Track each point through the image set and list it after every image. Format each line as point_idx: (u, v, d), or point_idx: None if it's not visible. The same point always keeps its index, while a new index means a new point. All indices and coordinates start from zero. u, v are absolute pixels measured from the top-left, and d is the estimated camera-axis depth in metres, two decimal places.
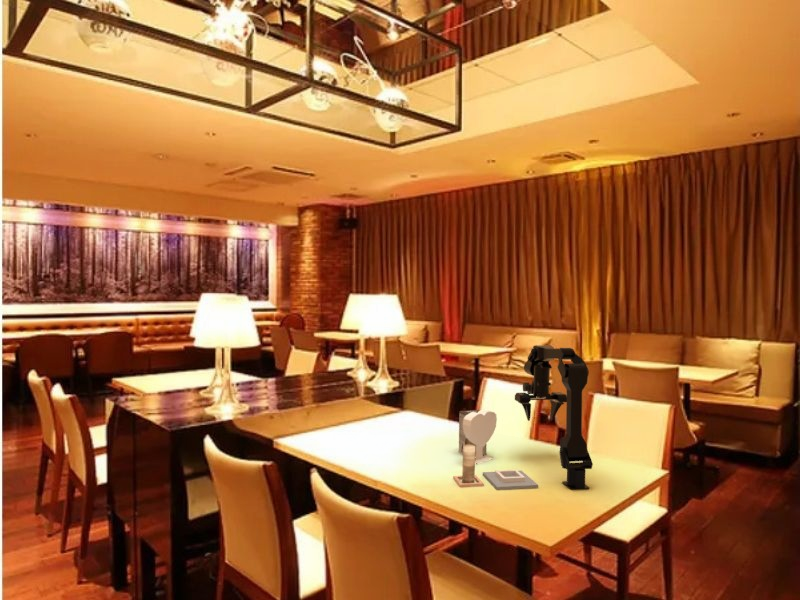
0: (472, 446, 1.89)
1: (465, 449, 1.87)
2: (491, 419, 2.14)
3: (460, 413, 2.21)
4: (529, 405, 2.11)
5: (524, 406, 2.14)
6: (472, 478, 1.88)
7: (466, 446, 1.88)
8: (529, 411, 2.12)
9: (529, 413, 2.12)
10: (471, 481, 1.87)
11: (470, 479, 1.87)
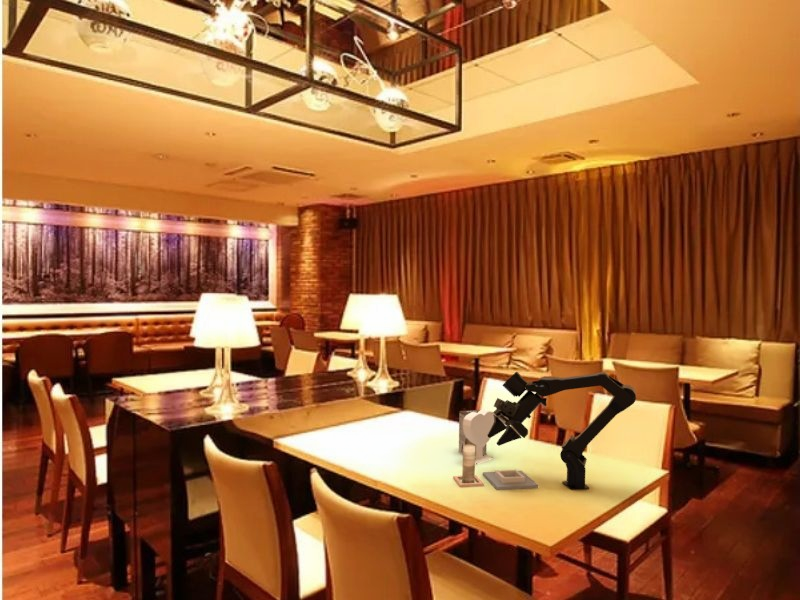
0: (472, 446, 1.89)
1: (465, 449, 1.87)
2: (492, 419, 2.14)
3: (460, 413, 2.21)
4: None
5: (508, 432, 1.85)
6: (472, 478, 1.88)
7: (466, 446, 1.88)
8: None
9: None
10: (471, 481, 1.87)
11: (470, 479, 1.87)
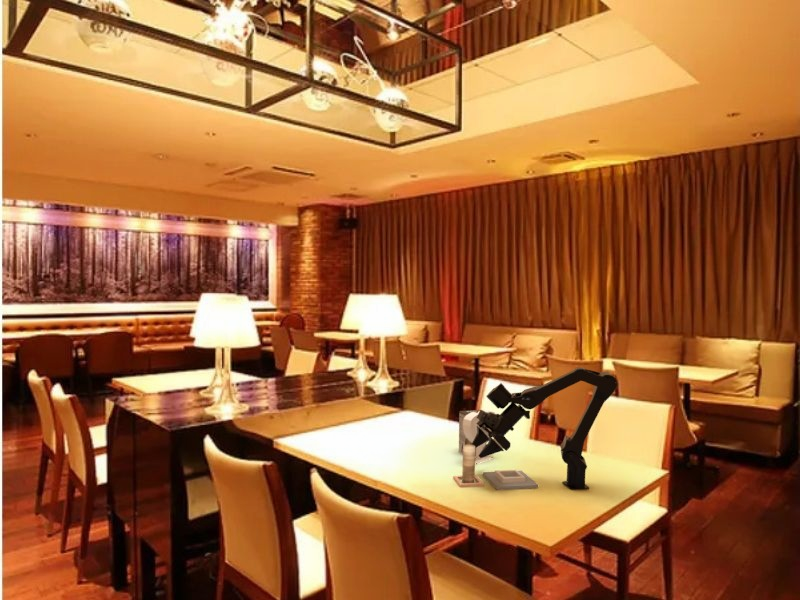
0: (472, 446, 1.89)
1: (465, 449, 1.87)
2: None
3: (460, 413, 2.21)
4: None
5: (490, 445, 1.84)
6: (472, 478, 1.88)
7: (466, 446, 1.88)
8: None
9: None
10: (471, 481, 1.87)
11: (470, 479, 1.87)
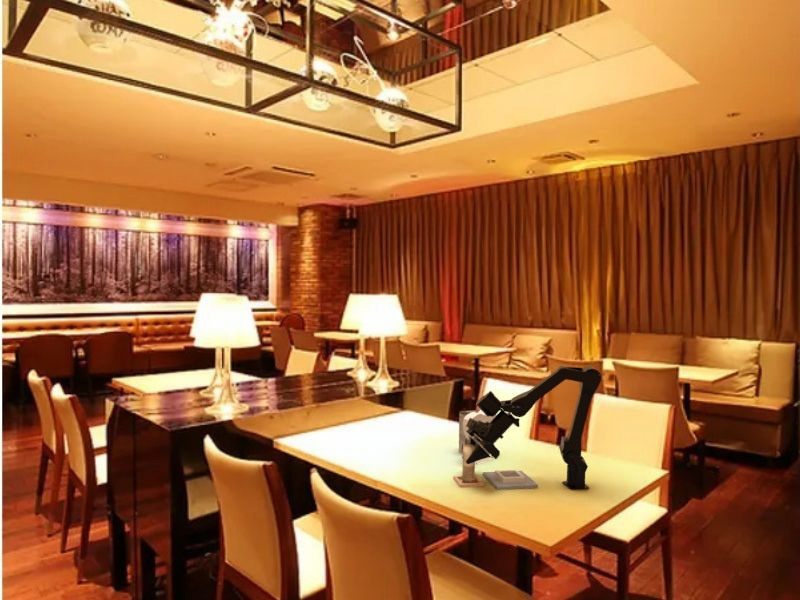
0: (472, 446, 1.89)
1: (465, 449, 1.87)
2: None
3: (460, 413, 2.21)
4: None
5: (477, 451, 1.86)
6: (472, 478, 1.88)
7: (466, 446, 1.88)
8: None
9: None
10: (471, 481, 1.87)
11: (470, 479, 1.87)
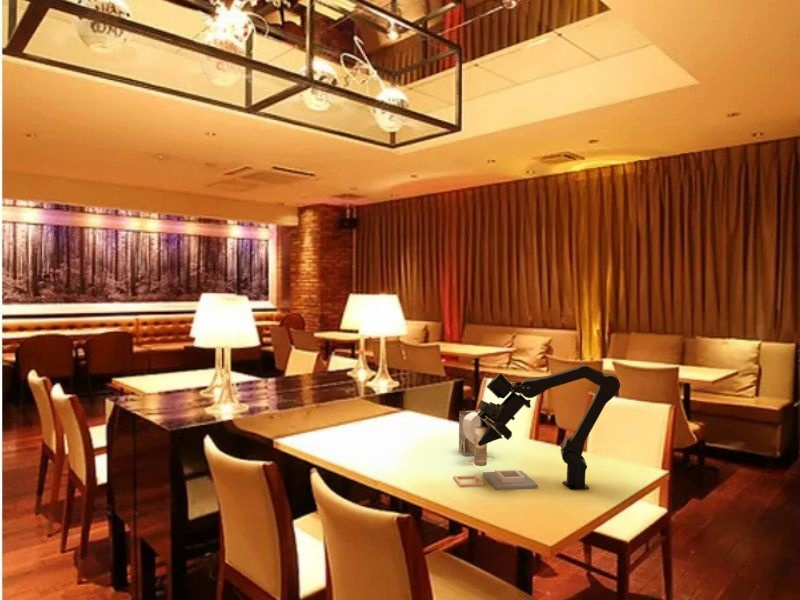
0: (484, 428, 1.89)
1: (477, 431, 1.87)
2: None
3: (460, 413, 2.21)
4: None
5: (489, 432, 1.86)
6: (484, 460, 1.88)
7: (478, 428, 1.88)
8: None
9: None
10: (483, 463, 1.87)
11: (482, 461, 1.87)
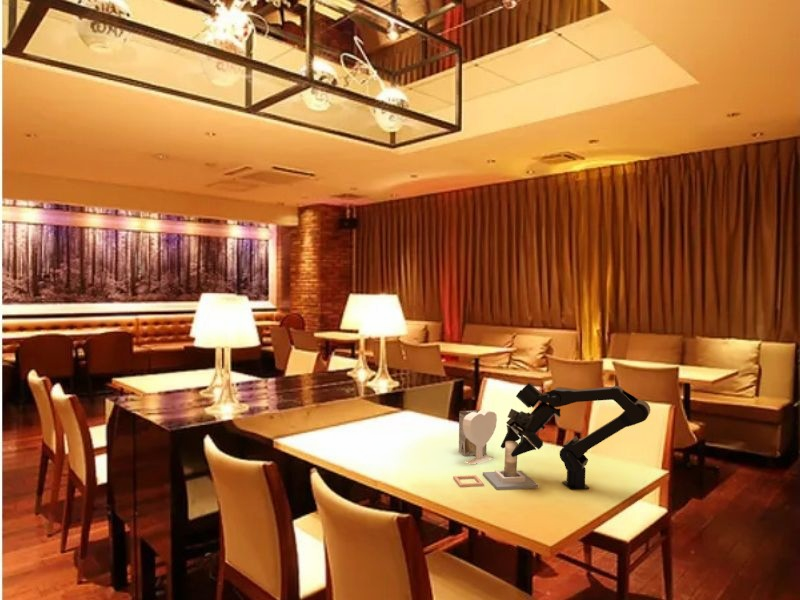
0: (514, 442, 1.90)
1: (508, 445, 1.89)
2: (492, 419, 2.14)
3: (460, 413, 2.21)
4: None
5: (522, 443, 1.85)
6: (514, 474, 1.89)
7: (509, 442, 1.90)
8: None
9: None
10: None
11: (512, 475, 1.89)
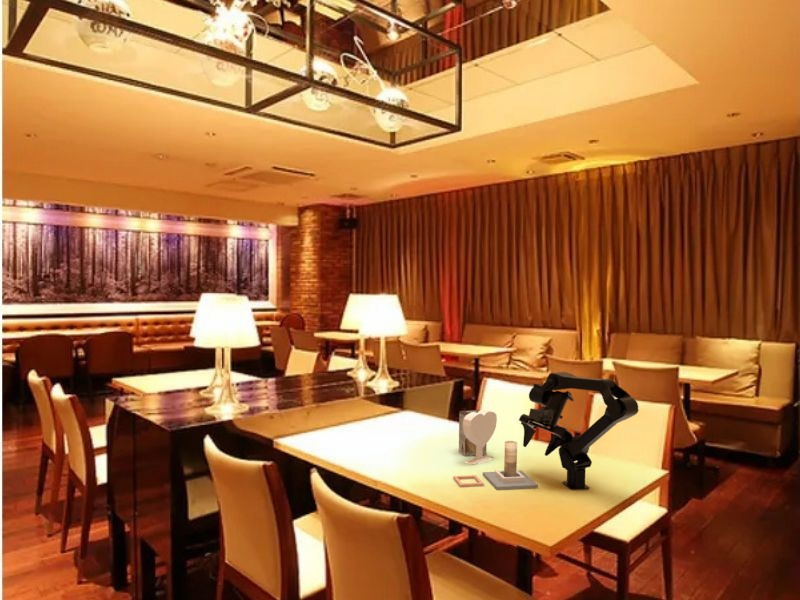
0: (514, 442, 1.90)
1: (507, 445, 1.89)
2: (492, 419, 2.14)
3: (460, 413, 2.21)
4: None
5: (554, 441, 1.85)
6: (514, 474, 1.89)
7: (508, 442, 1.90)
8: None
9: None
10: None
11: (512, 475, 1.89)
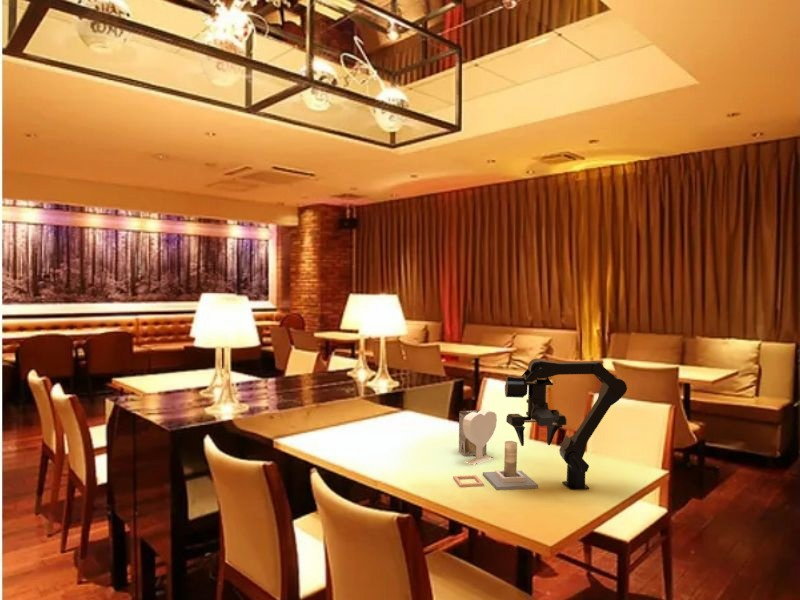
0: (514, 442, 1.90)
1: (508, 445, 1.89)
2: (492, 419, 2.14)
3: (460, 413, 2.21)
4: None
5: None
6: (514, 474, 1.89)
7: (508, 442, 1.90)
8: None
9: None
10: None
11: (512, 476, 1.89)
